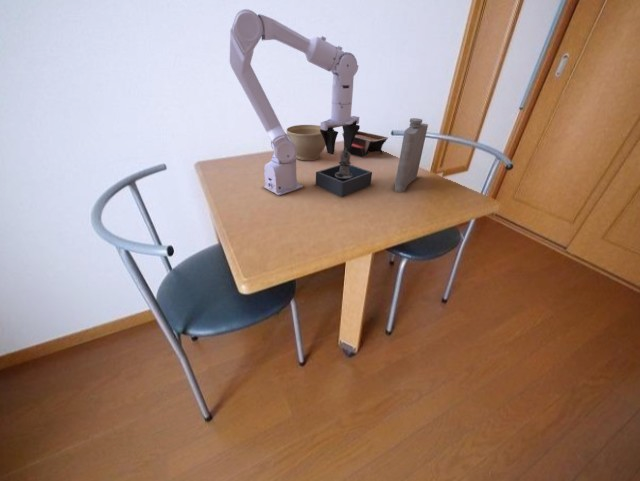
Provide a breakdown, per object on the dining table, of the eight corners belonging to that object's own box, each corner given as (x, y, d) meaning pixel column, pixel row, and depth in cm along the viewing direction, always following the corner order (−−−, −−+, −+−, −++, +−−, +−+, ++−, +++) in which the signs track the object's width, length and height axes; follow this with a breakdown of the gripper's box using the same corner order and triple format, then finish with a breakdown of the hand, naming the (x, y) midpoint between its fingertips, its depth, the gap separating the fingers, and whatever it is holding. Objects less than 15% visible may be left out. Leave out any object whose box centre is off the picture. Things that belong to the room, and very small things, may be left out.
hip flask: (402, 192, 89) (415, 124, 77) (390, 189, 90) (401, 122, 79) (417, 177, 100) (431, 115, 89) (406, 174, 102) (418, 114, 90)
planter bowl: (305, 148, 125) (305, 122, 119) (335, 156, 117) (336, 129, 110) (279, 157, 114) (277, 129, 108) (309, 166, 106) (309, 136, 100)
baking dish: (361, 149, 132) (359, 126, 127) (392, 153, 120) (392, 128, 115) (338, 158, 125) (335, 134, 120) (369, 162, 112) (367, 136, 108)
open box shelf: (342, 197, 85) (343, 183, 83) (315, 185, 92) (315, 171, 89) (370, 185, 93) (372, 172, 90) (344, 175, 100) (345, 162, 97)
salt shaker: (352, 182, 95) (355, 145, 88) (352, 189, 90) (355, 151, 83) (334, 181, 95) (336, 144, 88) (333, 188, 90) (335, 150, 84)
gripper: (334, 107, 74) (331, 159, 82) (369, 102, 82) (364, 149, 90) (315, 103, 78) (315, 153, 86) (350, 99, 87) (347, 144, 94)
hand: (339, 151), depth 88 cm, fingers open, 7 cm apart
